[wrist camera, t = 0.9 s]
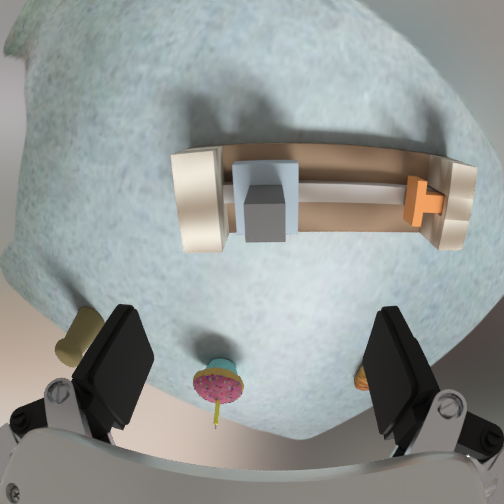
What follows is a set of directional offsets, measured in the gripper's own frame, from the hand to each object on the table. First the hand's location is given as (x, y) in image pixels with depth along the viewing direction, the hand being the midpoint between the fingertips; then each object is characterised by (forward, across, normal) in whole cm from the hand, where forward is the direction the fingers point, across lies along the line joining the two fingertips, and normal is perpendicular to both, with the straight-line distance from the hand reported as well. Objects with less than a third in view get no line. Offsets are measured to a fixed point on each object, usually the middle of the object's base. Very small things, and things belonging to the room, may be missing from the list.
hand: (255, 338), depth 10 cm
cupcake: (+23, +8, +31) cm, 40 cm away
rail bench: (+23, -8, 0) cm, 24 cm away
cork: (+23, +32, +22) cm, 46 cm away
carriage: (+21, 0, 0) cm, 21 cm away
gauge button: (+20, -19, 0) cm, 27 cm away
